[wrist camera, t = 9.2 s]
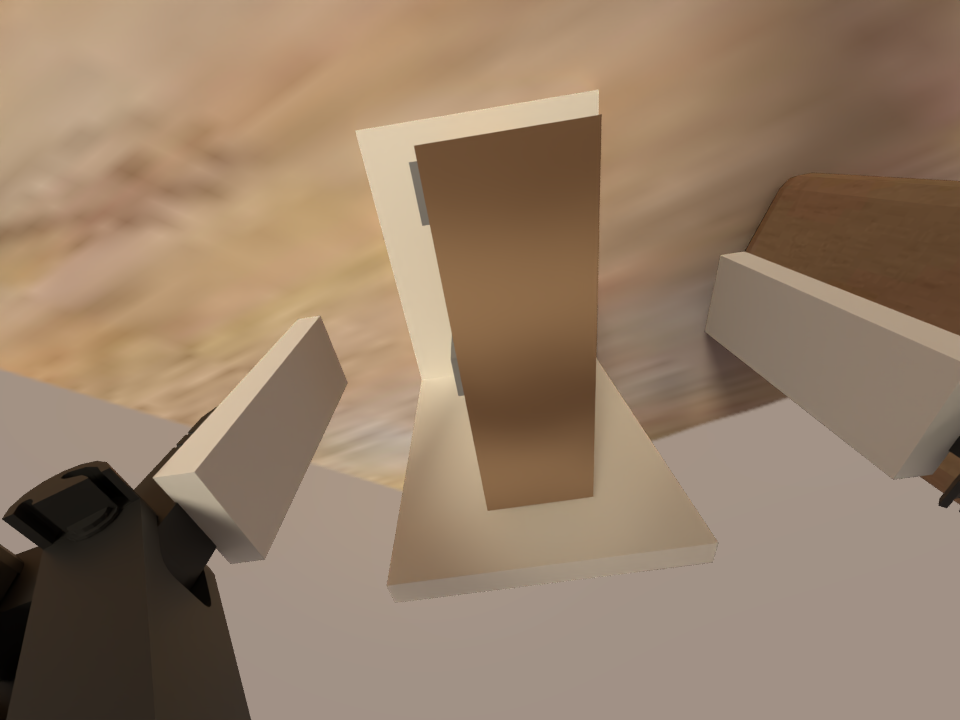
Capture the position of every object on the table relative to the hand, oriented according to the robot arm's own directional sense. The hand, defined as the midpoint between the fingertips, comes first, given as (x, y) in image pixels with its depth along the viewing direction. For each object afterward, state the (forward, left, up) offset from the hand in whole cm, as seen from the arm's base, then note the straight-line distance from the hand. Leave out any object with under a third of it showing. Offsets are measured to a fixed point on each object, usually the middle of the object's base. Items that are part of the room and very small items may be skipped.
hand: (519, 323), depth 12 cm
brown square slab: (0, 0, -10) cm, 10 cm away
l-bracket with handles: (0, 0, -11) cm, 11 cm away
